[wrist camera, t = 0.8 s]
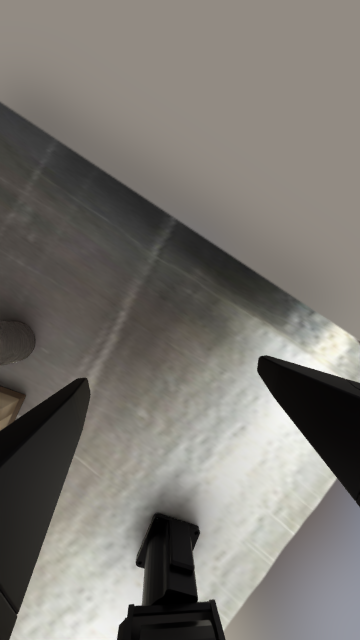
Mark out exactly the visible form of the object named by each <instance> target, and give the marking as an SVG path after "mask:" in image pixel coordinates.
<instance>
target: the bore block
mask: <svg viewBox="0 0 360 640" xmlns="http://www.w3.org/2000/svg"><path fill="white" fill-rule="evenodd" d="M25 397H26V395H24V394H21V393H18V392H15V391H13V390H10V389H7V388H4V387H1V386H0V431H1V430H2V429H3V428H5V427H6V426H8V425H9V424H11V423H12V422H14V420H15V418H16V416H17V414H18V412H19V410H20V407H21V405H22V403H23V401H24V399H25Z"/></svg>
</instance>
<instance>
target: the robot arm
mask: <svg viewBox="0 0 360 640" xmlns="http://www.w3.org/2000/svg"><path fill="white" fill-rule="evenodd" d="M257 371H258V374H259V375H260V377H261V378H262V380H263V381H264V383H265V384H266V386H267V388H268V389H269V391H270V392H271V394H272V395H273V397H274V398H275V399H276V401H277V402H278V403H279V405H280V406H281V407H282V408H283V410H284V411H285V412H286V413H287V415H288V416H289V417H290V419H291V420H292V421H293V422H294V424H295V425H296V426H297V427H298V429H299V430H300V431H301V433H302V434H303V435H304V436H305V438H306V439H307V440H308V441H309V443H310V444H311V445H312V447H313V448H314V449H315V450H316V452H317V453H318V454H319V456H320V457H321V458H322V459H323V461H324V462H325V463H326V464H327V466H328V467H329V468H330V470H331V471H332V472H333V473H334V475H335V476H336V477H337V478H338V480H339V481H340V482H341V484H342V485H343V486H344V487H345V489H346V490H347V491H348V493H349V494H350V495H351V496H352V498H353V499H354V500H355V501H356V503H357V504H358V505H359V506H360V383H358V382H355V381H351V380H348V379H344V378H341V377H338V376H334V375H331V374H328V373H324V372H321V371H318V370H314V369H311V368H308V367H304V366H301V365H298V364H294V363H291V362H288V361H284V360H281V359H277V358H274V357H271V356H267V355H266V356H260V357H259V360H258V367H257ZM89 400H90V388H89V383H88V380H87V378H78V379H76V380H74V381H73V382H71V383H70V384H68V385H67V386H65V387H64V388H62V389H61V390H59V391H58V392H57V393H55V394H54V395H52V396H51V397H49V398H48V399H46V400H45V401H43V402H42V403H40V404H39V405H37V406H36V407H34V408H33V409H31V410H30V411H29V412H27V413H26V414H24V415H23V416H21V417H20V418H18V419H17V420H15V421H14V422H12V423H11V424H9V425H8V426H6V427H5V428H3V429H2V430H1V431H0V640H9V639H10V636H11V633H12V631H13V628H14V625H15V622H16V619H17V614H18V612H19V610H20V607H21V604H22V602H23V599H24V596H25V593H26V590H27V587H28V584H29V582H30V579H31V576H32V573H33V570H34V567H35V564H36V562H37V559H38V556H39V553H40V550H41V547H42V544H43V542H44V539H45V536H46V533H47V530H48V527H49V524H50V522H51V519H52V516H53V513H54V510H55V507H56V505H57V502H58V499H59V496H60V493H61V490H62V487H63V485H64V482H65V479H66V476H67V473H68V470H69V467H70V465H71V462H72V459H73V456H74V453H75V450H76V447H77V445H78V442H79V439H80V436H81V433H82V430H83V426H84V422H85V417H86V413H87V409H88V405H89ZM199 534H200V531H199V527H198V526H196V525H193V524H190V523H187V522H184V521H181V520H178V519H175V518H172V517H168V516H165V515H162V514H159V513H157V514H155V515H154V517H153V519H152V522H151V524H150V526H149V529H148V531H147V534H146V536H145V539H144V541H143V543H142V546H141V548H140V551H139V553H138V555H137V558H136V565H137V566H138V567H141V568H144V569H145V570H144V584H143V597H142V606H134V604H130V605H129V607H128V615H127V618H125V620H124V621H123V622H122V623H121V624H120V625H119V630H118V637H117V640H225V636H224V632H223V629H222V625H221V621H220V617H219V614H218V610H217V606H216V603H215V600H214V599H213V600H209V601H207V602H197V601H198V595H197V587H196V579H195V571H194V568H195V567H194V559H193V549H194V547H195V544H196V542H197V539H198V537H199Z"/></svg>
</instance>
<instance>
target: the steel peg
mask: <svg viewBox="0 0 360 640" xmlns="http://www.w3.org/2000/svg"><path fill="white" fill-rule="evenodd" d="M34 347H35V336H34V333H33V331H32V330H31V329H30V328H29V327H28V326H27V325H26V324H24V323H21V322H17V321H0V366H3V365H7V364H10V363H14V362H18V361H21V360H23V359H25V358H27V357H28V356H29V355H30V354H31V353H32V351H33V349H34Z"/></svg>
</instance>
